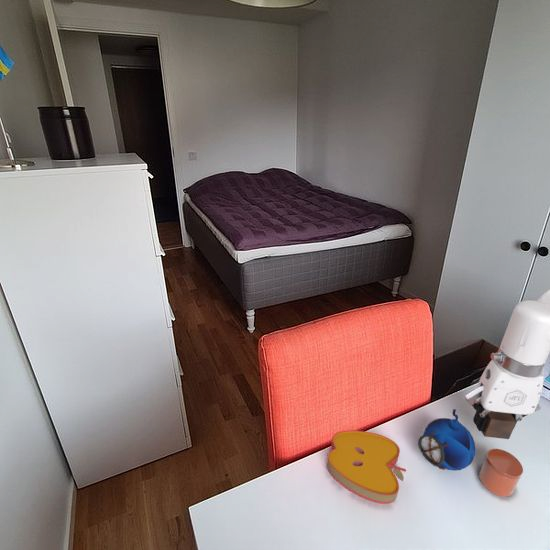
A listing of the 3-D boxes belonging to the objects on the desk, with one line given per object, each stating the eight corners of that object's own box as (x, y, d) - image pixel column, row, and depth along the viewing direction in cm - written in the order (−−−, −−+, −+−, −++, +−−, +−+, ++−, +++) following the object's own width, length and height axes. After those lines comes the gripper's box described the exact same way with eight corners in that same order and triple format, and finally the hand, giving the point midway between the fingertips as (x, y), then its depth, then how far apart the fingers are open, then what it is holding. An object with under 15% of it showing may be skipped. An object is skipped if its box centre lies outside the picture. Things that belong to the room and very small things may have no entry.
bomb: (405, 451, 75) (419, 399, 69) (440, 434, 79) (456, 384, 73) (442, 491, 67) (461, 436, 61) (478, 470, 72) (500, 417, 65)
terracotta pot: (504, 470, 72) (513, 450, 69) (519, 498, 66) (529, 478, 64) (474, 466, 72) (482, 446, 70) (486, 494, 67) (496, 474, 64)
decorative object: (321, 488, 67) (402, 516, 62) (323, 475, 65) (406, 503, 61) (334, 434, 79) (402, 455, 74) (336, 421, 77) (406, 442, 73)
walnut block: (497, 420, 77) (504, 404, 75) (508, 439, 73) (516, 422, 71) (474, 418, 78) (480, 401, 76) (484, 436, 73) (491, 419, 71)
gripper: (482, 368, 65) (457, 437, 72) (578, 378, 63) (542, 447, 71) (466, 345, 72) (445, 410, 79) (553, 353, 70) (523, 419, 78)
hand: (491, 427), depth 75 cm, fingers closed on walnut block, 5 cm apart
